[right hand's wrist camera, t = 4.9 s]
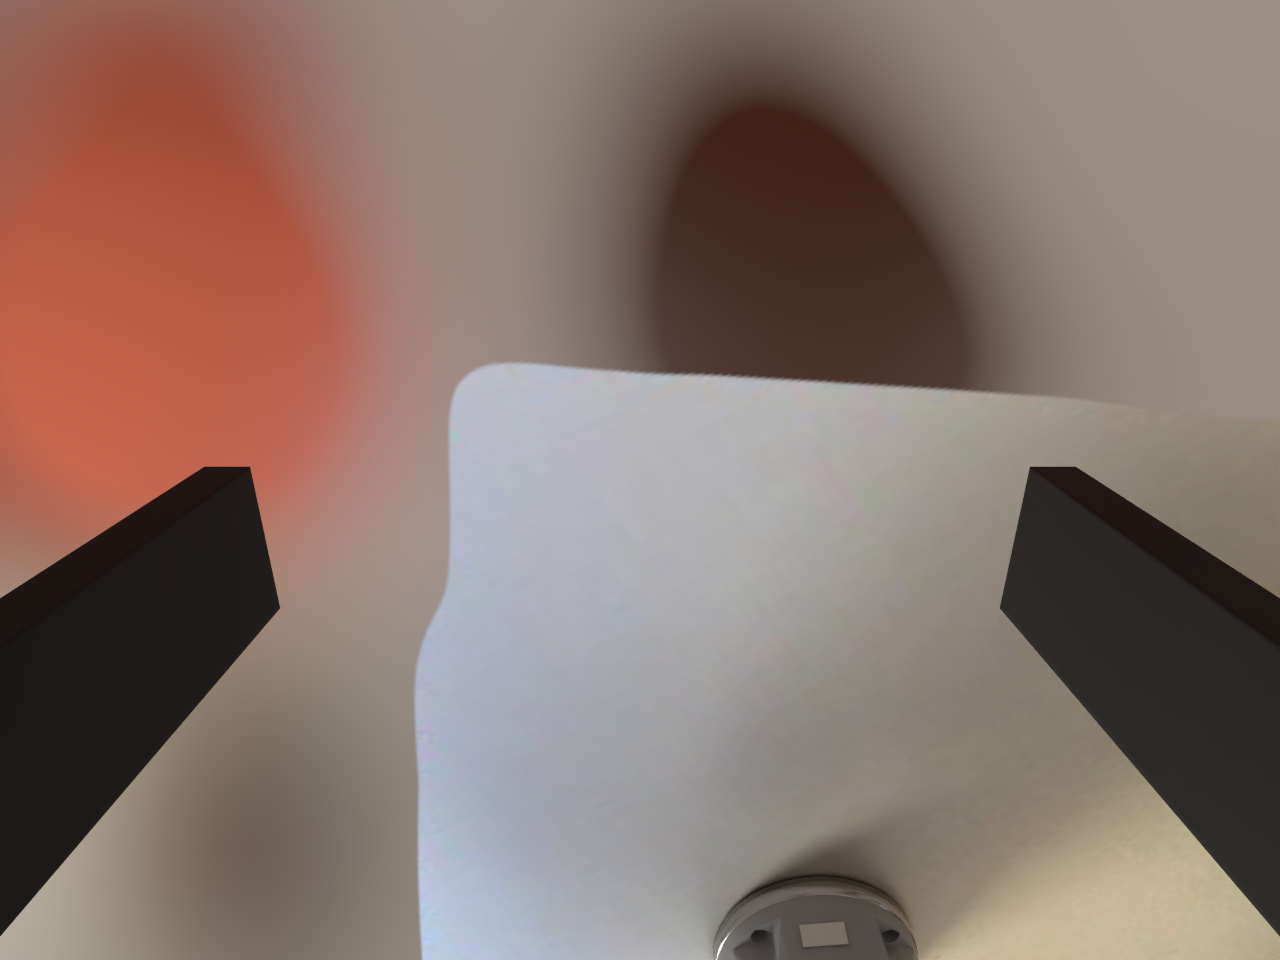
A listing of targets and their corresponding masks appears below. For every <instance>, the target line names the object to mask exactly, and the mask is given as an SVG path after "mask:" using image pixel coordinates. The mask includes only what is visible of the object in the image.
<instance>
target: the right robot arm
mask: <svg viewBox="0 0 1280 960" xmlns="http://www.w3.org/2000/svg"><path fill="white" fill-rule="evenodd" d="M279 609H280V605H279V601H278V596H277V591H276V587H275V582H274V577H273V573H272V568H271V563H270V559H269V554H268V549H267V545H266V540H265V535H264V530H263V526H262V521H261V516H260V512H259V507H258V502H257V498H256V493H255V488H254V483H253V479H252V474H251V470H250V467H203V468H202V469H200V470H199V471H197V472H196V473H194V474H193V475H191V476H189V477H188V478H186V479H185V480H183V481H182V482H180V483H179V484H177V485H175V486H174V487H172V488H171V489H169V490H168V491H166V492H165V493H163V494H161V495H160V496H158V497H157V498H155V499H154V500H152V501H151V502H149V503H147V504H146V505H144V506H143V507H141V508H140V509H138V510H137V511H135V512H134V513H132V514H130V515H129V516H127V517H126V518H124V519H123V520H121V521H120V522H118V523H117V524H115V525H113V526H112V527H110V528H109V529H107V530H106V531H104V532H102V533H101V534H99V535H98V536H96V537H95V538H93V539H92V540H90V541H89V542H87V543H86V544H84V545H82V546H81V547H79V548H78V549H76V550H75V551H73V552H71V553H70V554H68V555H67V556H65V557H64V558H62V559H61V560H59V561H57V562H56V563H54V564H53V565H51V566H50V567H48V568H47V569H45V570H44V571H42V572H40V573H39V574H37V575H36V576H34V577H33V578H31V579H30V580H28V581H26V582H25V583H23V584H22V585H20V586H19V587H17V588H16V589H14V590H12V591H11V592H9V593H8V594H6V595H5V596H3V597H2V598H0V936H1V935H2V934H3V932H4V931H5V930H6V929H7V928H8V927H9V925H10V924H11V923H12V922H13V921H14V919H15V918H16V917H17V916H18V915H19V914H20V912H21V911H22V910H23V909H24V908H25V907H26V905H27V904H28V903H29V902H30V901H31V900H32V898H33V897H34V896H35V895H36V894H37V893H38V891H39V890H40V889H41V888H42V887H43V885H44V884H45V883H46V882H47V881H48V880H49V878H50V877H51V876H52V875H53V874H54V873H55V871H56V870H57V869H58V868H59V867H60V865H61V864H62V863H63V862H64V861H65V860H66V859H67V857H68V856H69V855H70V854H71V853H72V851H73V850H74V849H75V848H76V847H77V846H78V844H79V843H80V842H81V841H82V840H83V839H84V837H85V836H86V835H87V834H88V833H89V831H90V830H91V829H92V828H93V827H94V826H95V825H96V823H97V822H98V821H99V820H100V819H101V817H102V816H103V815H104V814H105V813H106V812H107V810H108V809H109V808H110V807H111V806H112V805H113V803H114V802H115V801H116V800H117V799H118V798H119V796H120V795H121V794H122V793H123V792H124V790H125V789H126V788H127V787H128V786H129V785H130V783H131V782H132V781H133V780H134V779H135V778H136V776H137V775H138V774H139V773H140V772H141V771H142V769H143V768H144V767H145V766H146V765H147V764H148V762H149V761H150V760H151V759H152V758H153V756H154V755H155V754H156V753H157V752H158V751H159V749H160V748H161V747H162V746H163V745H164V744H165V742H166V741H167V740H168V739H169V738H170V737H171V735H172V734H173V733H174V732H175V731H176V730H177V728H178V727H179V726H180V725H181V724H182V723H183V721H184V720H185V719H186V718H187V717H188V715H189V714H190V713H191V712H192V711H193V710H194V708H195V707H196V706H197V705H198V704H199V703H200V701H201V700H202V699H203V698H204V697H205V696H206V694H207V693H208V692H209V691H210V690H211V689H212V687H213V686H214V685H215V684H216V683H217V681H218V680H219V679H220V678H221V677H222V676H223V674H224V673H225V672H226V671H227V670H228V669H229V667H230V666H231V665H232V664H233V663H234V662H235V660H236V659H237V658H238V657H239V656H240V655H241V653H242V652H243V651H244V650H245V649H246V647H247V646H248V645H249V644H250V643H251V642H252V640H253V639H254V638H255V637H256V636H257V635H258V633H259V632H260V631H261V630H262V629H263V628H264V626H265V625H266V624H267V623H268V622H269V621H270V619H271V618H272V617H273V616H274V615H275V613H276V612H277V611H278V610H279ZM1000 609H1001V610H1002V611H1003V612H1004V613H1005V615H1006V616H1007V617H1008V618H1009V619H1010V621H1011V622H1012V623H1013V624H1014V625H1015V626H1016V628H1017V629H1018V630H1019V631H1020V632H1021V633H1022V635H1023V636H1024V637H1025V638H1026V639H1027V640H1028V642H1029V643H1030V644H1031V645H1032V646H1033V647H1034V649H1035V650H1036V651H1037V652H1038V653H1039V655H1040V656H1041V657H1042V658H1043V659H1044V660H1045V662H1046V663H1047V664H1048V665H1049V666H1050V667H1051V669H1052V670H1053V671H1054V672H1055V673H1056V674H1057V676H1058V677H1059V678H1060V679H1061V680H1062V681H1063V683H1064V684H1065V685H1066V686H1067V687H1068V689H1069V690H1070V691H1071V692H1072V693H1073V694H1074V696H1075V697H1076V698H1077V699H1078V700H1079V701H1080V703H1081V704H1082V705H1083V706H1084V707H1085V708H1086V710H1087V711H1088V712H1089V713H1090V714H1091V715H1092V717H1093V718H1094V719H1095V720H1096V721H1097V723H1098V724H1099V725H1100V726H1101V727H1102V728H1103V730H1104V731H1105V732H1106V733H1107V734H1108V735H1109V737H1110V738H1111V739H1112V740H1113V741H1114V742H1115V744H1116V745H1117V746H1118V747H1119V748H1120V749H1121V751H1122V752H1123V753H1124V754H1125V755H1126V757H1127V758H1128V759H1129V760H1130V761H1131V762H1132V764H1133V765H1134V766H1135V767H1136V768H1137V769H1138V771H1139V772H1140V773H1141V774H1142V775H1143V776H1144V778H1145V779H1146V780H1147V781H1148V782H1149V783H1150V785H1151V786H1152V787H1153V788H1154V789H1155V791H1156V792H1157V793H1158V794H1159V795H1160V796H1161V798H1162V799H1163V800H1164V801H1165V802H1166V803H1167V805H1168V806H1169V807H1170V808H1171V809H1172V810H1173V812H1174V813H1175V814H1176V815H1177V816H1178V817H1179V819H1180V820H1181V821H1182V822H1183V823H1184V825H1185V826H1186V827H1187V828H1188V829H1189V830H1190V832H1191V833H1192V834H1193V835H1194V836H1195V837H1196V839H1197V840H1198V841H1199V842H1200V843H1201V844H1202V846H1203V847H1204V848H1205V849H1206V850H1207V851H1208V853H1209V854H1210V855H1211V856H1212V857H1213V859H1214V860H1215V861H1216V862H1217V863H1218V864H1219V866H1220V867H1221V868H1222V869H1223V870H1224V871H1225V873H1226V874H1227V875H1228V876H1229V877H1230V878H1231V880H1232V881H1233V882H1234V883H1235V884H1236V885H1237V887H1238V888H1239V889H1240V890H1241V891H1242V893H1243V894H1244V895H1245V896H1246V897H1247V898H1248V900H1249V901H1250V902H1251V903H1252V904H1253V905H1254V907H1255V908H1256V909H1257V910H1258V911H1259V912H1260V914H1261V915H1262V916H1263V917H1264V918H1265V919H1266V921H1267V922H1268V923H1269V924H1270V925H1271V927H1272V928H1273V929H1274V930H1275V931H1276V932H1277V934H1278V935H1279V936H1280V598H1278V597H1277V596H1275V595H1274V594H1272V593H1271V592H1269V591H1268V590H1266V589H1264V588H1263V587H1261V586H1260V585H1258V584H1257V583H1255V582H1254V581H1252V580H1250V579H1249V578H1247V577H1246V576H1244V575H1243V574H1241V573H1240V572H1238V571H1236V570H1235V569H1233V568H1232V567H1230V566H1229V565H1227V564H1226V563H1224V562H1223V561H1221V560H1219V559H1218V558H1216V557H1215V556H1213V555H1212V554H1210V553H1209V552H1207V551H1205V550H1204V549H1202V548H1201V547H1199V546H1198V545H1196V544H1195V543H1193V542H1191V541H1190V540H1188V539H1187V538H1185V537H1184V536H1182V535H1181V534H1179V533H1178V532H1176V531H1174V530H1173V529H1171V528H1170V527H1168V526H1167V525H1165V524H1164V523H1162V522H1160V521H1159V520H1157V519H1156V518H1154V517H1153V516H1151V515H1150V514H1148V513H1146V512H1145V511H1143V510H1142V509H1140V508H1139V507H1137V506H1136V505H1134V504H1133V503H1131V502H1129V501H1128V500H1126V499H1125V498H1123V497H1122V496H1120V495H1119V494H1117V493H1115V492H1114V491H1112V490H1111V489H1109V488H1108V487H1106V486H1105V485H1103V484H1101V483H1100V482H1098V481H1097V480H1095V479H1094V478H1092V477H1091V476H1089V475H1088V474H1086V473H1084V472H1083V471H1081V470H1080V469H1078V468H1077V467H1030V469H1029V474H1028V479H1027V483H1026V488H1025V493H1024V498H1023V502H1022V507H1021V512H1020V516H1019V521H1018V526H1017V530H1016V535H1015V540H1014V544H1013V549H1012V554H1011V559H1010V563H1009V568H1008V573H1007V577H1006V582H1005V587H1004V591H1003V596H1002V601H1001V605H1000ZM714 960H918V954H917V947H916V943H915V940H914V937H913V935H912V932H911V929H910V926H909V924H908V921H907V919H906V917H905V915H904V913H903V912H902V910H901V909H900V908H899V907H898V905H897V904H896V903H895V902H894V901H893V900H892V899H890V898H889V897H888V896H886V895H885V894H884V893H882V892H880V891H879V890H877V889H875V888H873V887H871V886H869V885H866V884H863V883H860V882H857V881H853V880H849V879H844V878H837V877H805V878H798V879H792V880H788V881H784V882H780V883H777V884H774V885H771V886H768V887H766V888H764V889H761V890H759V891H758V892H756V893H754V894H752V895H750V896H749V897H747V898H746V899H744V900H743V901H742V902H740V903H739V904H738V905H737V906H736V907H734V908H733V909H732V910H731V911H730V913H729V914H728V915H727V916H726V917H725V919H724V920H723V922H722V923H721V925H720V927H719V929H718V931H717V934H716V937H715V941H714Z"/></svg>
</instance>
